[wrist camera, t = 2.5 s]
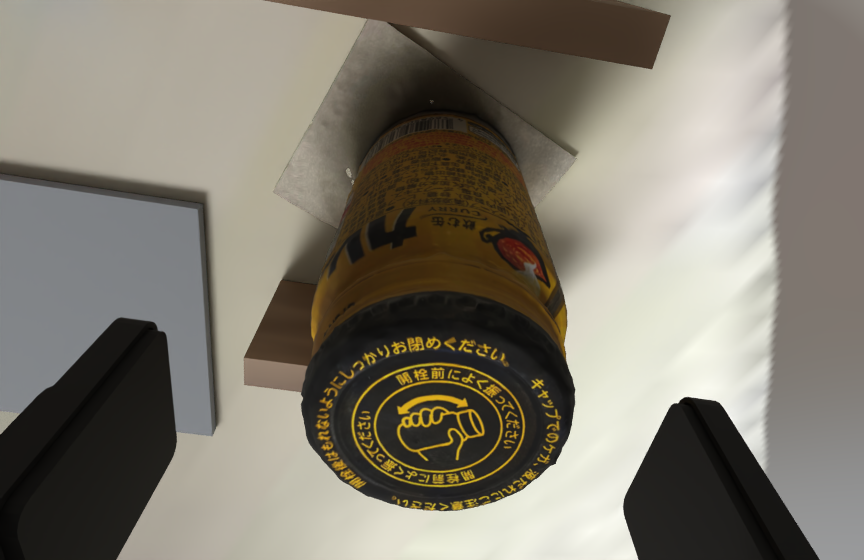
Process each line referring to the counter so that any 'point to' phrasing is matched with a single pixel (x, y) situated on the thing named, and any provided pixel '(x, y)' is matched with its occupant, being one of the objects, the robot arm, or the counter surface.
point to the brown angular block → (474, 17)
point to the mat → (100, 286)
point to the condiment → (430, 284)
